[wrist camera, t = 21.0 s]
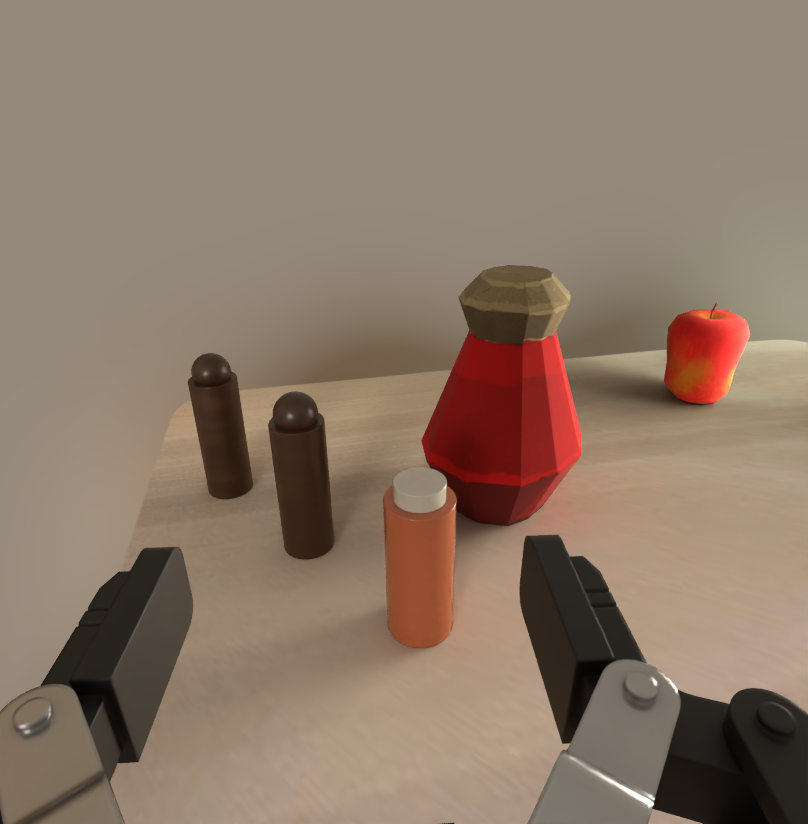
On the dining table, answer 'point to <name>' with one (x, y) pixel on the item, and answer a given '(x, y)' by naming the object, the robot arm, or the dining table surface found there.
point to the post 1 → (220, 426)
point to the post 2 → (301, 476)
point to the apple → (704, 354)
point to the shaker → (419, 556)
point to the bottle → (506, 399)
